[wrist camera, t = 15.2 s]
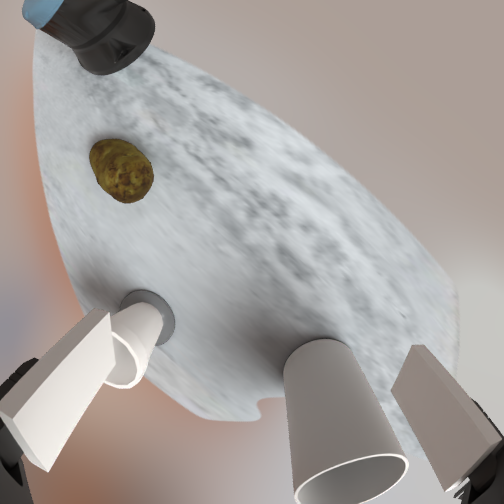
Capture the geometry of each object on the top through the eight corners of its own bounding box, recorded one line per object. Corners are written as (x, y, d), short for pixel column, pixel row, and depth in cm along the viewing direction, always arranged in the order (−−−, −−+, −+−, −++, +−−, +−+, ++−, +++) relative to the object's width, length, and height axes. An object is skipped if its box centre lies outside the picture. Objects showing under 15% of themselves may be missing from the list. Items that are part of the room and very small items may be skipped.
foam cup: (113, 320, 43) (73, 356, 30) (135, 281, 42) (92, 312, 29) (156, 353, 44) (126, 399, 31) (182, 318, 42) (153, 362, 30)
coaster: (121, 284, 43) (119, 285, 42) (176, 297, 42) (175, 299, 42) (122, 335, 45) (120, 337, 44) (173, 349, 45) (172, 352, 44)
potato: (132, 121, 37) (107, 109, 29) (172, 184, 39) (151, 182, 31) (96, 154, 39) (67, 149, 31) (132, 216, 40) (106, 222, 33)
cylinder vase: (367, 359, 43) (426, 463, 19) (319, 404, 45) (344, 514, 21) (317, 323, 42) (364, 441, 18) (267, 374, 44) (269, 499, 20)
